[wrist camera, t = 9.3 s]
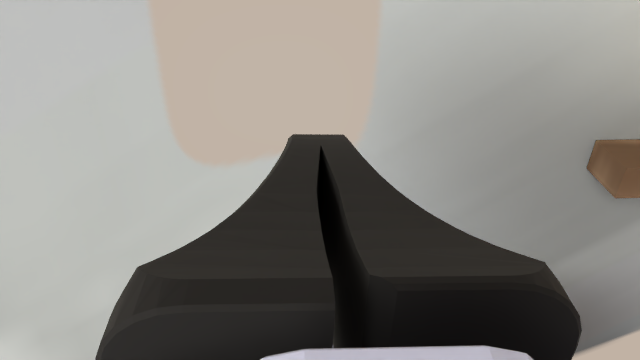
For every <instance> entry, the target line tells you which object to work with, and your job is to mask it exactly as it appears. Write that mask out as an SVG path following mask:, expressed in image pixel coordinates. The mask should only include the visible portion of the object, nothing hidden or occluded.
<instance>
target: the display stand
mask: <svg viewBox="0 0 640 360" xmlns="http://www.w3.org/2000/svg"><path fill="white" fill-rule="evenodd" d="M587 169H588V170H589V171H590V172H591V173H592V175H593V176H594V177H595V178H596V179H597V180H598V181H599V182H600V183H601V184H602V185H603V186H604V187H605V188H606V189H607V190H608V191H609V192H610V193H611V194H612V196H613V197H614V198H640V140H596V142H595V145H594V148H593V151H592V154H591V157H590V160H589V163H588V166H587Z"/></svg>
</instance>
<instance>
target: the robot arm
mask: <svg viewBox="0 0 640 360" xmlns="http://www.w3.org/2000/svg"><path fill="white" fill-rule="evenodd" d="M581 331H582V330H581V323H580V316H579V314H578V312H577V311H576V309H575V307H574V306H573V304H572V303H571V301H570V299H569V297H568V296H567V294H566V292H565V291H564V289H563V287H562V286H561V284H560V282H559V281H558V280H557V278H556V277H555V275H554V274H553V273H552V271H551V270H550V269H549V267H548V266H547V265H546V263H545V262H542V261H539V260H536V259H533V258H530V257H527V256H524V255H521V254H518V253H515V252H512V251H509V250H506V249H503V248H500V247H497V246H495V245H492V244H490V243H488V242H485V241H483V240H481V239H478V238H476V237H474V236H471V235H469V234H467V233H465V232H463V231H461V230H459V229H457V228H455V227H453V226H451V225H449V224H448V223H446V222H444V221H442V220H440V219H438V218H437V217H435V216H433V215H432V214H430V213H428V212H427V211H425V210H424V209H422V208H421V207H419V206H418V205H416V204H415V203H414V202H412V201H411V200H409V199H408V198H406V197H405V196H404V195H403V194H401V193H400V192H399V191H397V190H396V189H395V188H394V187H393V186H392V185H391V184H389V183H388V182H387V181H386V180H385V179H384V178H383V177H382V176H381V175H379V174H378V172H377V171H376V170H375V169H374V168H373V167H372V166H371V165H370V164H369V163H368V162H367V161H366V160H365V159H364V158H363V157H362V155H361V154H360V153H359V152H358V151H357V150H356V148H355V147H354V146H353V145H352V144H351V142H350V141H349V140H348V139H347V138H346V137H345V136H344V135H297V134H296V135H292V136H291V137H290V138H288V142H287V144H286V147H285V149H284V151H283V153H282V154H281V156H280V158H279V160H278V161H277V163H276V164H275V166H274V167H273V169H272V170H271V172H270V173H269V175H268V176H267V177H266V179H265V180H264V181H263V182H262V183H261V185H260V186H259V187H258V188H257V190H256V191H255V192H254V193H253V194H252V195H251V196H250V198H249V199H248V200H247V201H246V202H245V203H244V204H243V205H242V206H241V207H239V208H238V209H237V210H236V211H235V212H234V213H233V214H232V215H230V216H229V217H228V218H227V219H225V220H224V221H223V222H221V223H220V224H219V225H217V226H216V227H215V228H213V229H212V230H210V231H209V232H207V233H206V234H204V235H202V236H201V237H199V238H198V239H196V240H194V241H192V242H190V243H189V244H187V245H185V246H183V247H181V248H179V249H177V250H175V251H173V252H171V253H169V254H167V255H164V256H162V257H160V258H158V259H155V260H153V261H151V262H149V263H146V264H144V265H141V266H139V267H138V268H137V269H136V270H135V272H134V274H133V275H132V277H131V279H130V280H129V282H128V284H127V286H126V287H125V289H124V291H123V292H122V294H121V296H120V298H119V299H118V301H117V303H116V305H115V307H114V309H113V312H112V314H111V316H110V319H109V322H108V324H107V327H106V329H105V332H104V335H103V337H102V340H101V343H100V346H99V349H98V352H97V355H96V360H571V359H572V357H573V355H574V353H575V350H576V348H577V346H578V342H579V338H580V334H581Z"/></svg>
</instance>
